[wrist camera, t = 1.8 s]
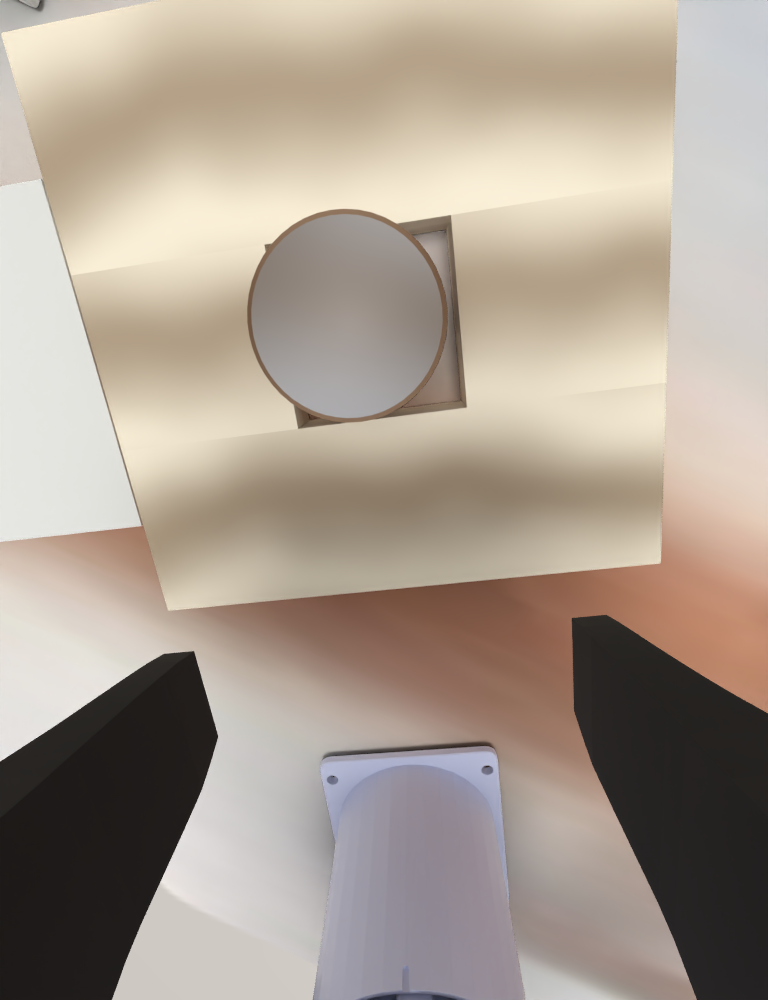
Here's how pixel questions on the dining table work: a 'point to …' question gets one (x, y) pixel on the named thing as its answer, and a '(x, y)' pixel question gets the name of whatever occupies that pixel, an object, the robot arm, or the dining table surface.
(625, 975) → the dining table surface
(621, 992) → the dining table surface
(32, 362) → the rubber mat
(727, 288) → the dining table surface
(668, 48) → the bore board
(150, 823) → the robot arm
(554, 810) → the dining table surface
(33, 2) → the skincare box
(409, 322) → the brown wooden cylinder
